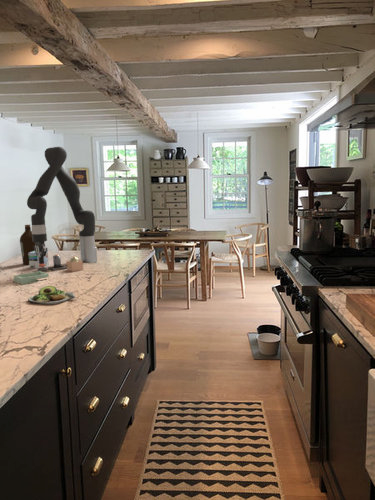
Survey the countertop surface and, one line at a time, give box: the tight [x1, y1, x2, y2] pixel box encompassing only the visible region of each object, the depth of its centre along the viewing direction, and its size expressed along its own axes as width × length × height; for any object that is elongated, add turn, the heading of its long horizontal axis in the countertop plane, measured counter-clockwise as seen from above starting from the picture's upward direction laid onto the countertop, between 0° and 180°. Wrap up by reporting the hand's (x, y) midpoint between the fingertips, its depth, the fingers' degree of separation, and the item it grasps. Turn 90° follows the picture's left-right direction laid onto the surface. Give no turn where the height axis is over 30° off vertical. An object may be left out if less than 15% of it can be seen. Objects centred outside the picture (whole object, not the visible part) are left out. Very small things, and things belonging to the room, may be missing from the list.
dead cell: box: [70, 256, 79, 262], centre depth 218 cm, size 4×4×8 cm
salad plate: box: [27, 285, 76, 305], centre depth 166 cm, size 19×18×5 cm
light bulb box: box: [28, 249, 50, 269], centre depth 230 cm, size 11×7×11 cm, turn 168°
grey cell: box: [52, 254, 62, 268], centre depth 222 cm, size 4×4×8 cm
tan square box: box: [66, 259, 84, 272], centre depth 218 cm, size 6×6×7 cm
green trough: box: [13, 271, 49, 285], centre depth 201 cm, size 14×10×3 cm
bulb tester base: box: [31, 264, 67, 273], centre depth 220 cm, size 18×10×3 cm, turn 135°
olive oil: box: [19, 224, 35, 266], centre depth 247 cm, size 11×11×25 cm
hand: (41, 263), depth 216 cm, fingers closed
